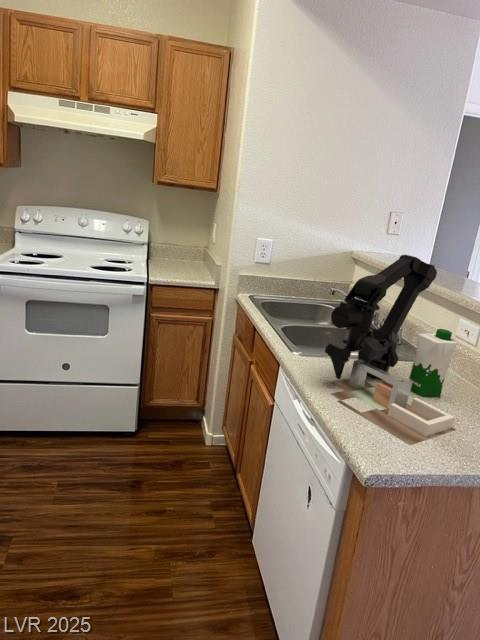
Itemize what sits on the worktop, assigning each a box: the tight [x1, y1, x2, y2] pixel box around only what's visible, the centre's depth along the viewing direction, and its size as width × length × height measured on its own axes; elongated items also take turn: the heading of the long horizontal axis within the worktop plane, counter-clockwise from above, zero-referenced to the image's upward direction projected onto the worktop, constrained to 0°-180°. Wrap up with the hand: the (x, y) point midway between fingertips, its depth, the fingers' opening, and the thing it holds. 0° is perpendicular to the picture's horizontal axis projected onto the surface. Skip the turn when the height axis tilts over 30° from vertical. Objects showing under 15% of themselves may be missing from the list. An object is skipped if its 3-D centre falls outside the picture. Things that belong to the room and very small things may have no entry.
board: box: [329, 377, 457, 446], centre depth 125 cm, size 19×32×2 cm, turn 35°
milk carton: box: [408, 328, 458, 399], centre depth 137 cm, size 9×9×20 cm
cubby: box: [388, 397, 456, 436], centre depth 119 cm, size 11×11×3 cm
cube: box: [373, 380, 393, 408], centre depth 127 cm, size 5×5×5 cm
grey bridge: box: [349, 359, 413, 410], centre depth 130 cm, size 6×16×8 cm, turn 37°
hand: (349, 376), depth 137 cm, fingers open, 9 cm apart
